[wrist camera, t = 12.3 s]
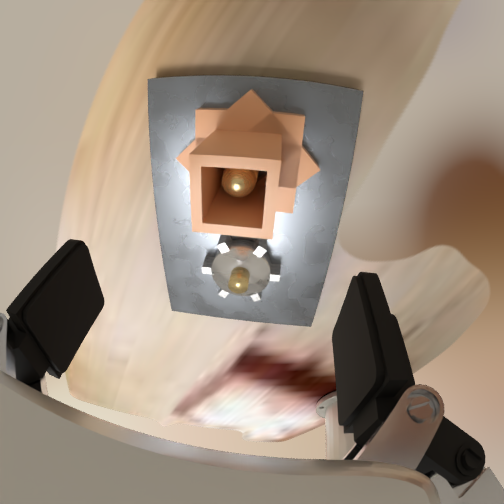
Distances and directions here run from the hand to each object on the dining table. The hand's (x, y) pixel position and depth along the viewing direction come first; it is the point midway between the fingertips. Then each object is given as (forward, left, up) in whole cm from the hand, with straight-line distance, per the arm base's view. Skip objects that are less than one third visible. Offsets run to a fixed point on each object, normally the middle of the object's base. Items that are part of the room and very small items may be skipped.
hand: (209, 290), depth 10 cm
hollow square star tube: (0, 0, -13) cm, 13 cm away
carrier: (0, +5, -15) cm, 16 cm away
